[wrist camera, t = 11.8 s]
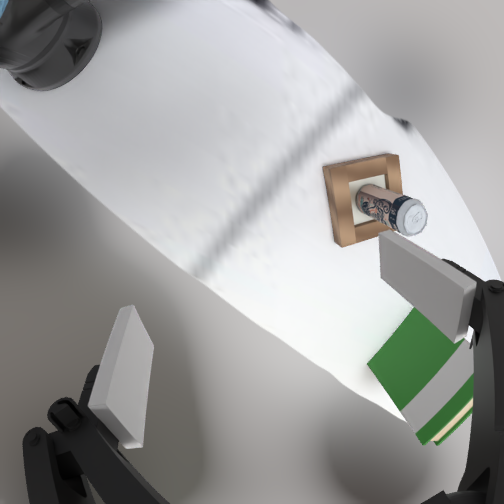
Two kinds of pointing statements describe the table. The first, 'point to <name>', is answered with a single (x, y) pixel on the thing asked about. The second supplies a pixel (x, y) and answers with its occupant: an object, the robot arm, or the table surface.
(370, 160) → the picture frame
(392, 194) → the beer can
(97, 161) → the table surface
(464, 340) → the hardback book
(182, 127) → the table surface
